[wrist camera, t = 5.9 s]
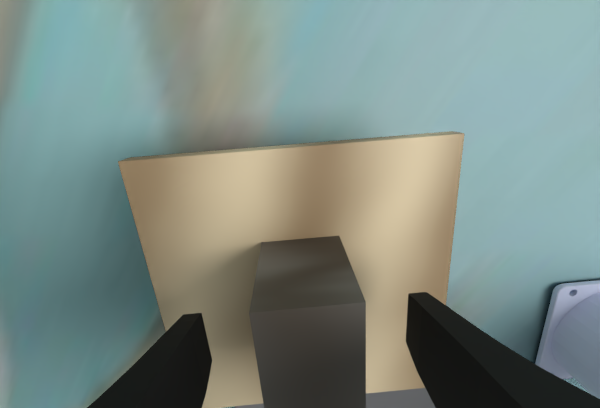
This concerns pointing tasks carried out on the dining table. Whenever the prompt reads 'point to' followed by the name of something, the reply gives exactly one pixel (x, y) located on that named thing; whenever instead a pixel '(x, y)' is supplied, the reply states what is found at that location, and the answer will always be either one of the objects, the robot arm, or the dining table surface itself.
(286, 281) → the lid
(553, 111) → the dining table surface
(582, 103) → the dining table surface
